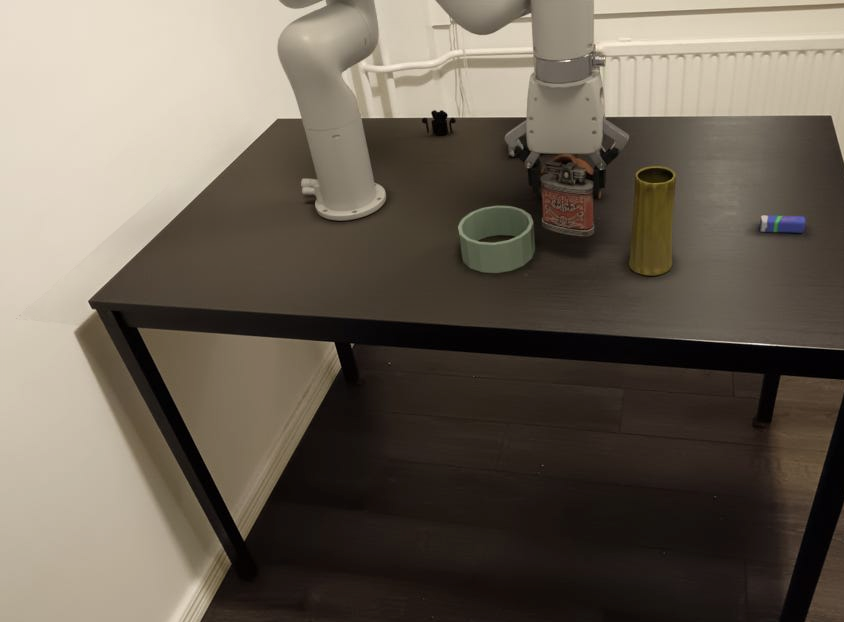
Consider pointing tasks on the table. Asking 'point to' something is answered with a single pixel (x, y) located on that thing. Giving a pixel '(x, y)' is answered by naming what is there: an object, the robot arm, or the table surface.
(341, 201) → the robot arm
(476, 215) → the pale green hollow ring
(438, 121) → the wireless earbuds
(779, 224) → the eraser
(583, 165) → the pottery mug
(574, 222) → the lighter
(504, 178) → the table surface
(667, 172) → the vase
